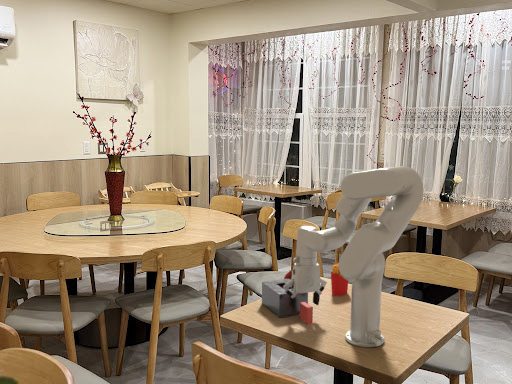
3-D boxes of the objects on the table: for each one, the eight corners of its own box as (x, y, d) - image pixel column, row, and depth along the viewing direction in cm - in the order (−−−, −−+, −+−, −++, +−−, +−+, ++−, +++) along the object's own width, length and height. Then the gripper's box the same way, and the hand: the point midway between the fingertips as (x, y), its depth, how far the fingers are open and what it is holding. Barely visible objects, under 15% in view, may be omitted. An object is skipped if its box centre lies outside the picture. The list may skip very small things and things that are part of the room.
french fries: (335, 296, 206) (336, 266, 205) (328, 293, 210) (329, 264, 208) (351, 293, 211) (352, 263, 210) (344, 290, 215) (345, 261, 213)
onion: (298, 286, 220) (298, 268, 219) (295, 290, 215) (296, 272, 214) (285, 284, 222) (285, 267, 221) (282, 288, 216) (282, 271, 215)
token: (312, 323, 178) (312, 307, 177) (307, 324, 177) (307, 308, 177) (304, 317, 184) (304, 301, 183) (299, 318, 183) (300, 302, 182)
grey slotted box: (307, 313, 188) (308, 290, 186) (279, 317, 183) (279, 294, 182) (288, 299, 202) (288, 278, 201) (261, 303, 198) (262, 282, 196)
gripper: (289, 265, 171) (287, 312, 174) (332, 261, 178) (329, 306, 181) (280, 259, 178) (278, 304, 181) (322, 255, 185) (319, 299, 187)
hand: (304, 305), depth 181 cm, fingers open, 9 cm apart
